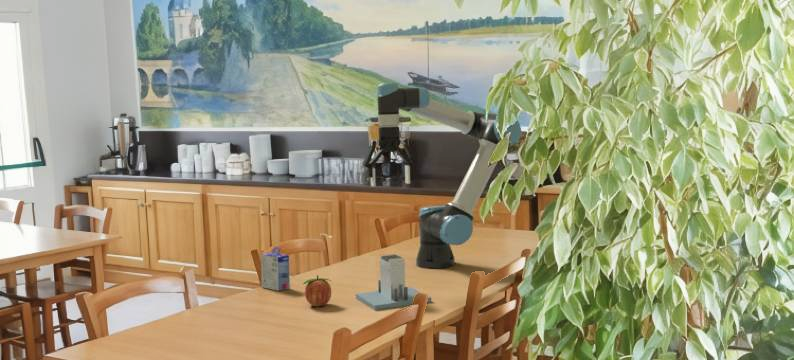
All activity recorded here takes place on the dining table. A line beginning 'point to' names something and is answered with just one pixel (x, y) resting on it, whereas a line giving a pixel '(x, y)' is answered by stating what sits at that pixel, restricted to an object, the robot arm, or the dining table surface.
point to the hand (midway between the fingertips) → (390, 184)
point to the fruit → (317, 291)
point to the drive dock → (383, 302)
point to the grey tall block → (392, 275)
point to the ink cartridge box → (275, 270)
